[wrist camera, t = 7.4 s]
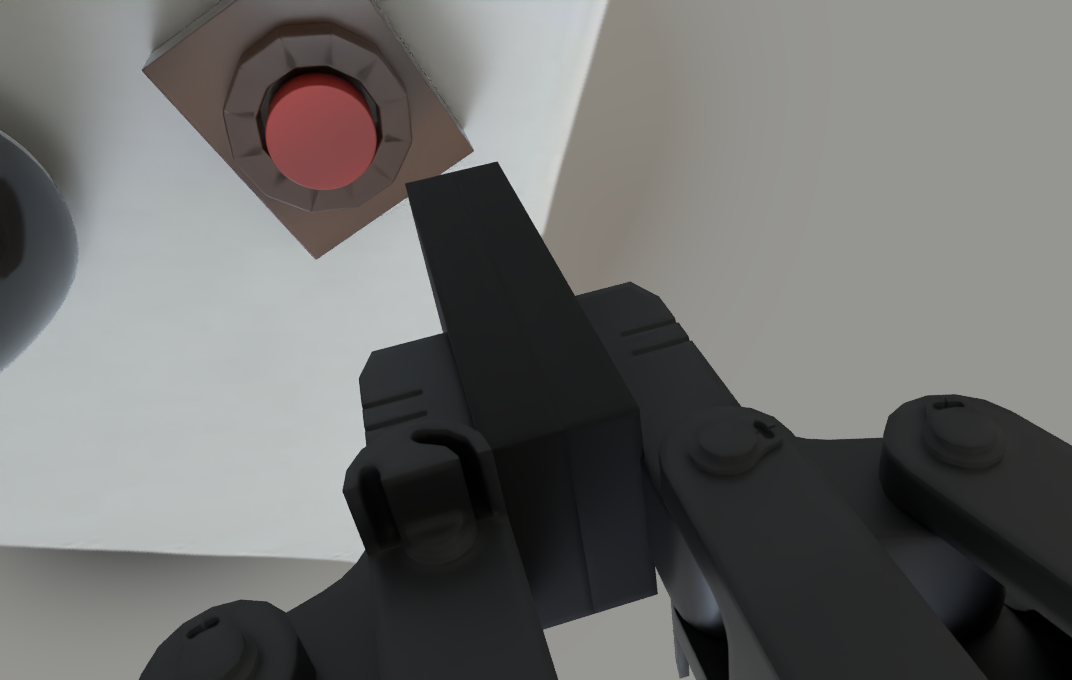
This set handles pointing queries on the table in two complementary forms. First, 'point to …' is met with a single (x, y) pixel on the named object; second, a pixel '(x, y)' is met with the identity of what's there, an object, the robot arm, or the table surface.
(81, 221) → the table surface
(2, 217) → the pump dispenser
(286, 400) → the table surface
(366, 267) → the table surface
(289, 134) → the red push button
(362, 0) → the switch box
